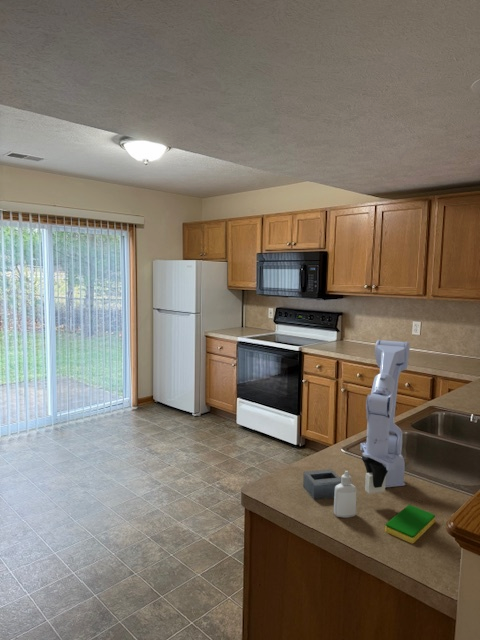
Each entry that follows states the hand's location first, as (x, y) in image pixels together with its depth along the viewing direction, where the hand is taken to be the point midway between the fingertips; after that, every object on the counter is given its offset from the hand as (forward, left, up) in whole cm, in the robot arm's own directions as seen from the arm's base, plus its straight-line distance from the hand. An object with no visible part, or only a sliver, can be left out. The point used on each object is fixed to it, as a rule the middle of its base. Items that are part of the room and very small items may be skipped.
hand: (375, 484), depth 122 cm
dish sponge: (-3, +12, -6) cm, 14 cm away
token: (0, 0, -2) cm, 2 cm away
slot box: (+11, -10, -6) cm, 16 cm away
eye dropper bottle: (+11, +3, -6) cm, 13 cm away
